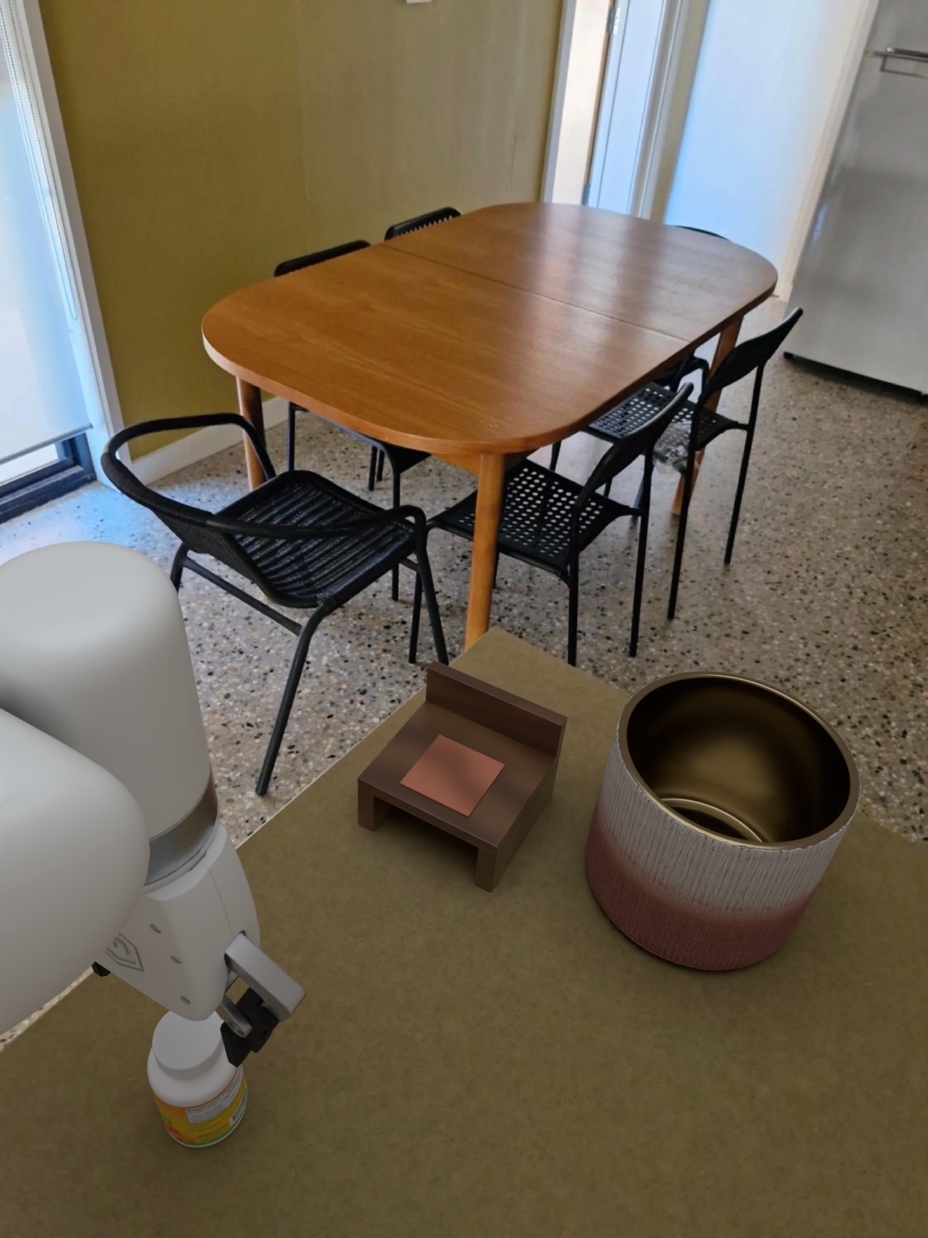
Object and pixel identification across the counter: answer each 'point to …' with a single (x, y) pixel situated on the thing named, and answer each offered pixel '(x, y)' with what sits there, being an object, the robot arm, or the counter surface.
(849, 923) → the counter surface
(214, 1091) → the supplement bottle
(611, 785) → the planter
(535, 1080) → the counter surface
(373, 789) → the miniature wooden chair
